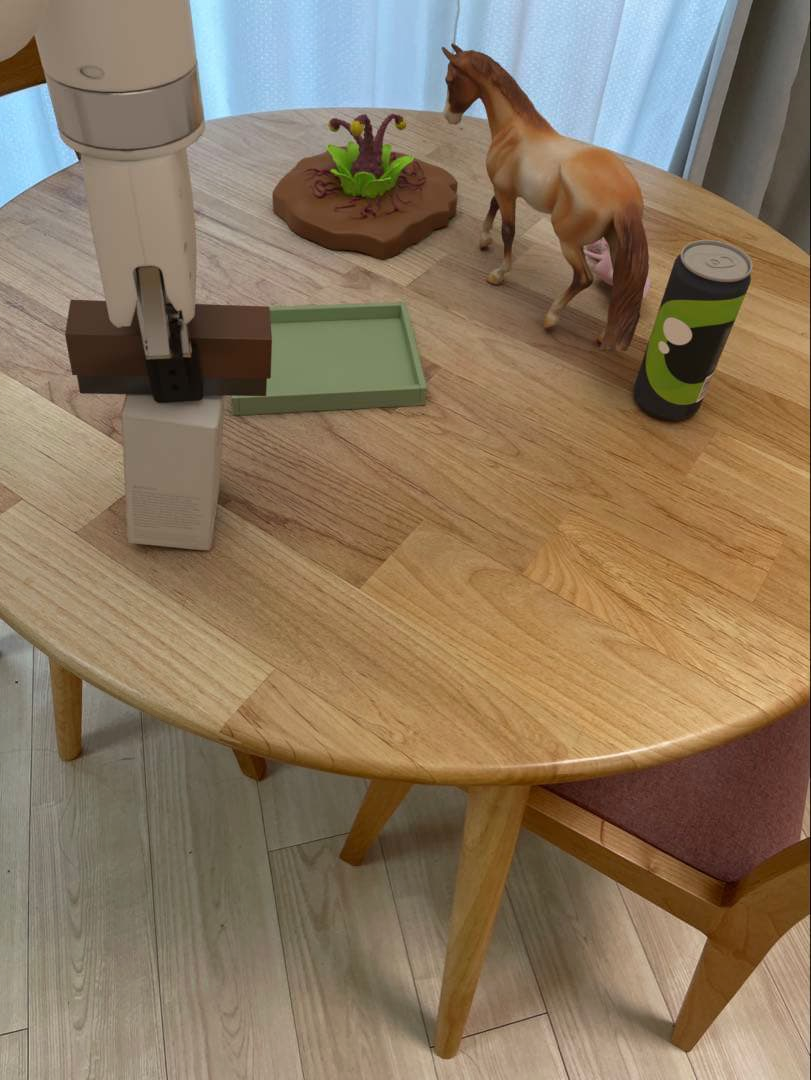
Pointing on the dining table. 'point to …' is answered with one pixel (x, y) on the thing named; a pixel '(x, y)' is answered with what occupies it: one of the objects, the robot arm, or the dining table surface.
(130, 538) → the small box
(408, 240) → the plant
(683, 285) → the beverage can
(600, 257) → the rabbit figure
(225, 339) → the brown wooden block
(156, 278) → the robot arm
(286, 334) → the tray
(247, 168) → the dining table surface
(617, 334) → the horse figurine
